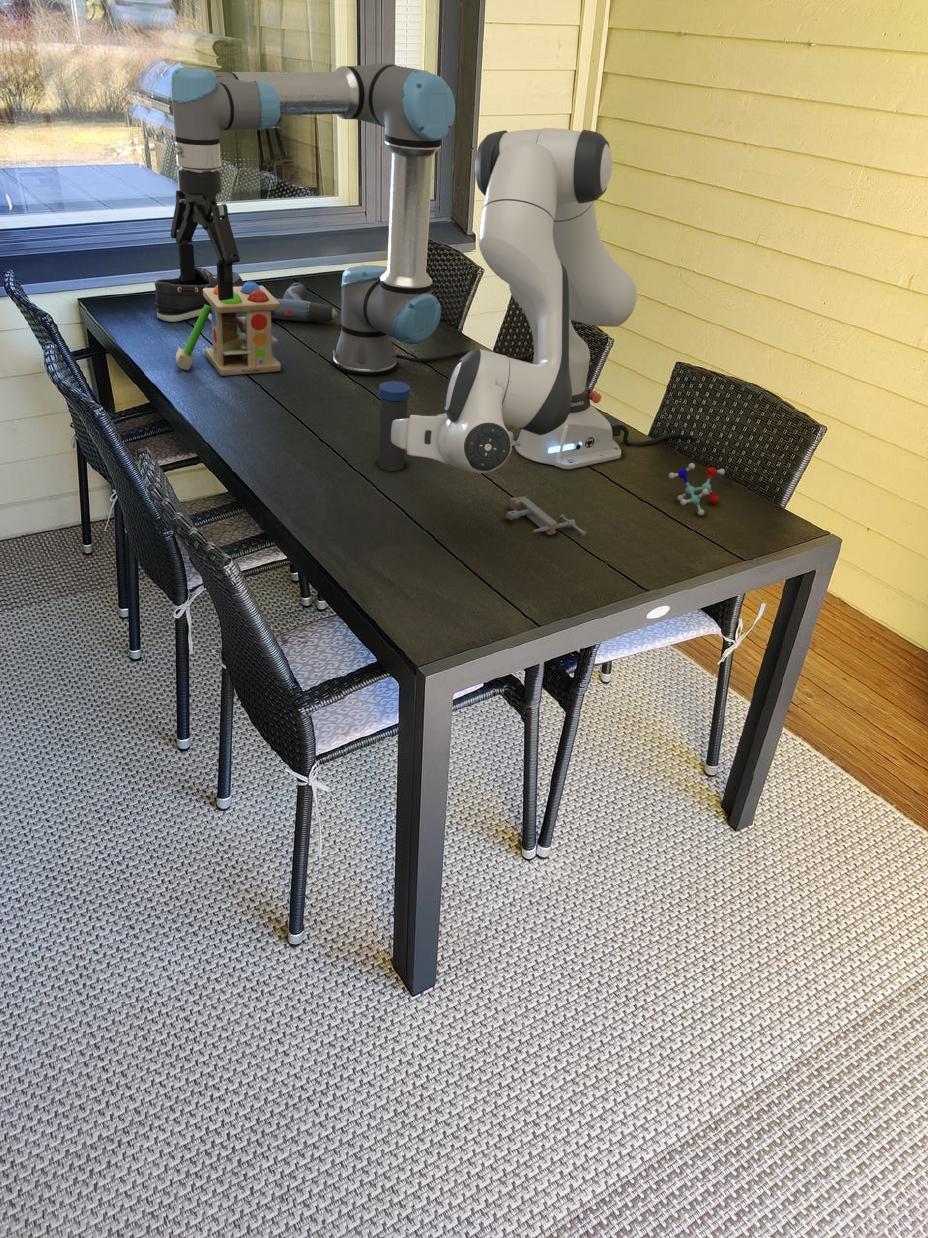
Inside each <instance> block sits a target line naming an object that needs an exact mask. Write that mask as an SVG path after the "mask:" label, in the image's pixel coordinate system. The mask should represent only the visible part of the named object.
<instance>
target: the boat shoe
mask: <svg viewBox="0 0 928 1238" xmlns="http://www.w3.org/2000/svg"><path fill="white" fill-rule="evenodd" d="M195 278H196V280H189V281H181V273H180V274H179V276H178V277H176V278H175V277H174V278H161V279H156V280H154V287H155V298H154V299H155V302H154V303H153V305H154V306H155V307H156V308H157V309H156V317H157V319H159V320H161V321H164V322H171V323H172V322H181V321H185V320H189V319H192V318H196V317H199V316H200V314H201V311H202V309H203V307H204V305H208V306H210V307H211V305H210V304H209V302H208V301H207V300H206V299H205V297H204V296H203V289H204V288H215V287H216V286H217V285H218V280H217V273H216V274H213V273H211V271H209V270H208V269H206V268H203V267H197V266H195ZM243 285H244V280H243V278H242V277H241V275H240V274H239V273H238V272H235V271H233V287H242V286H243Z"/></svg>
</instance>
